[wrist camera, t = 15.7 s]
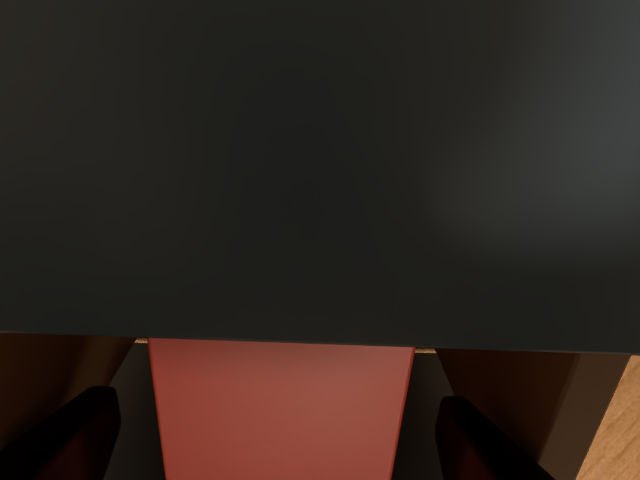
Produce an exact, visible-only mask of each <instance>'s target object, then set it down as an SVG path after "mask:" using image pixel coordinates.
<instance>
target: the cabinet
mask: <svg viewBox="0 0 640 480" xmlns="http://www.w3.org/2000/svg"><path fill="white" fill-rule="evenodd" d="M0 333H26V334H54V335H82V336H110V337H138V338H166V339H194V340H222V341H250V342H278V343H306V344H334V345H362V346H390V347H418V348H446V349H474V350H502V351H530V352H558V353H586V354H613V355H640V0H0Z"/></svg>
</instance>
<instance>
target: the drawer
mask: <svg viewBox="0 0 640 480" xmlns="http://www.w3.org/2000/svg"><path fill="white" fill-rule="evenodd" d="M136 339H137V337H110V336H82V335H54V334H26V333H0V450H1V449H2V448H4V447H5V446H7V445H8V444H9V443H11V442H12V441H14V440H15V439H17V438H18V437H19V436H21V435H22V434H24V433H25V432H26V431H28V430H29V429H31V428H32V427H34V426H35V425H36V424H38V423H39V422H41V421H42V420H44V419H45V418H46V417H48V416H49V415H51V414H52V413H54V412H55V411H56V410H58V409H59V408H61V407H62V406H63V405H65V404H66V403H68V402H69V401H71V400H72V399H73V398H75V397H76V396H78V395H79V394H81V393H82V392H83V391H85V390H86V389H88V388H89V387H92V386H112V387H114V388H115V389H116V391H117V396H118V402H119V408H120V414H121V427H120V431H119V435H118V438H117V441H116V444H115V447H114V450H113V453H112V456H111V459H110V462H109V465H108V468H107V471H106V474H105V477H104V479H103V480H166V478H165V470H164V463H163V455H162V448H161V440H160V432H159V425H158V417H157V409H156V402H155V394H154V387H153V379H152V371H151V364H150V356H149V348H148V343H134V342H135V341H136ZM435 350H436V352H437V353H414V358H413V364H412V369H411V374H410V380H409V385H408V391H407V396H406V401H405V407H404V412H403V417H402V423H401V428H400V434H399V439H398V444H397V450H396V455H395V461H394V466H393V471H392V477H391V480H443V475H442V470H441V465H440V460H439V455H438V450H437V444H436V439H435V425H436V420H437V416H438V411H439V407H440V403H441V400H442V398H443V397H444V396H463V397H465V398H466V399H468V400H469V401H470V402H471V403H472V404H473V405H474V406H475V407H477V408H478V409H479V410H480V411H481V412H482V413H483V414H484V415H485V416H486V417H488V418H489V419H490V420H491V421H492V422H493V423H494V424H495V425H496V426H497V427H499V428H500V429H501V430H502V431H503V432H504V433H505V434H506V435H507V436H508V437H509V438H511V439H512V440H513V441H514V442H515V443H516V444H517V445H518V446H519V447H520V448H522V449H523V450H524V451H525V452H526V453H527V454H528V455H529V456H530V457H531V458H533V459H534V460H535V461H536V462H537V463H538V464H539V465H540V466H541V467H542V468H544V469H545V470H546V471H547V472H548V473H549V474H550V475H551V476H552V477H553V478H555V479H556V480H575V479H576V477H577V475H578V473H579V470H580V468H581V466H582V464H583V461H584V459H585V457H586V455H587V453H588V450H589V448H590V446H591V444H592V441H593V439H594V437H595V435H596V432H597V430H598V428H599V426H600V424H601V421H602V419H603V417H604V415H605V412H606V410H607V408H608V406H609V403H610V401H611V399H612V397H613V394H614V392H615V390H616V388H617V386H618V383H619V381H620V379H621V377H622V374H623V372H624V370H625V368H626V365H627V363H628V361H629V359H630V357H631V355H613V354H586V353H558V352H530V351H502V350H474V349H446V348H435Z"/></svg>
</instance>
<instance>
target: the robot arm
mask: <svg viewBox="0 0 640 480" xmlns="http://www.w3.org/2000/svg"><path fill="white" fill-rule="evenodd" d="M120 427H121V414H120V408H119V402H118V396H117V391H116V389H115V388H114V387H112V386H92V387H89V388H88V389H86V390H85V391H83V392H82V393H81V394H79V395H78V396H76V397H75V398H73V399H72V400H71V401H69V402H68V403H66V404H65V405H63V406H62V407H61V408H59V409H58V410H56V411H55V412H54V413H52V414H51V415H49V416H48V417H46V418H45V419H44V420H42V421H41V422H39V423H38V424H36V425H35V426H34V427H32V428H31V429H29V430H28V431H26V432H25V433H24V434H22V435H21V436H19V437H18V438H17V439H15V440H14V441H12V442H11V443H9V444H8V445H7V446H5V447H4V448H2V449H1V450H0V480H103V479H104V477H105V474H106V471H107V468H108V465H109V462H110V459H111V456H112V453H113V450H114V447H115V444H116V441H117V438H118V435H119V431H120ZM435 439H436V444H437V450H438V455H439V460H440V465H441V470H442V475H443V480H556V479H555V478H553V477H552V476H551V475H550V474H549V473H548V472H547V471H546V470H545V469H544V468H542V467H541V466H540V465H539V464H538V463H537V462H536V461H535V460H534V459H533V458H531V457H530V456H529V455H528V454H527V453H526V452H525V451H524V450H523V449H522V448H520V447H519V446H518V445H517V444H516V443H515V442H514V441H513V440H512V439H511V438H509V437H508V436H507V435H506V434H505V433H504V432H503V431H502V430H501V429H500V428H499V427H497V426H496V425H495V424H494V423H493V422H492V421H491V420H490V419H489V418H488V417H486V416H485V415H484V414H483V413H482V412H481V411H480V410H479V409H478V408H477V407H475V406H474V405H473V404H472V403H471V402H470V401H469V400H468V399H466V398H465V397H463V396H444V397H443V398H442V400H441V403H440V407H439V411H438V416H437V420H436V425H435Z"/></svg>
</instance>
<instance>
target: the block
mask: <svg viewBox="0 0 640 480" xmlns="http://www.w3.org/2000/svg"><path fill="white" fill-rule="evenodd" d="M147 341H148V348H149V356H150V364H151V371H152V379H153V387H154V394H155V402H156V409H157V417H158V425H159V432H160V440H161V448H162V455H163V463H164V470H165V478H166V480H391V477H392V471H393V466H394V461H395V455H396V450H397V444H398V439H399V434H400V428H401V423H402V417H403V412H404V407H405V401H406V396H407V391H408V385H409V380H410V374H411V369H412V364H413V358H414V353H415V347H390V346H362V345H334V344H306V343H278V342H250V341H222V340H194V339H166V338H147Z"/></svg>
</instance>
